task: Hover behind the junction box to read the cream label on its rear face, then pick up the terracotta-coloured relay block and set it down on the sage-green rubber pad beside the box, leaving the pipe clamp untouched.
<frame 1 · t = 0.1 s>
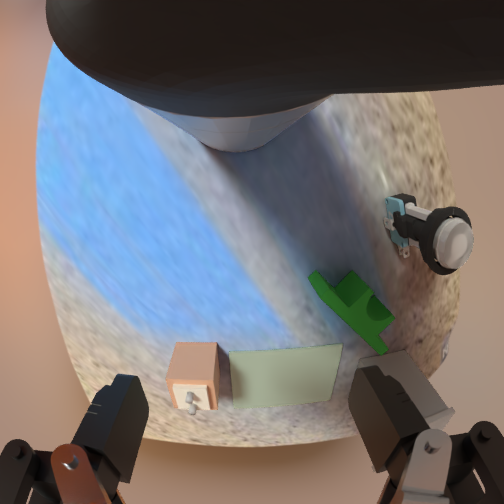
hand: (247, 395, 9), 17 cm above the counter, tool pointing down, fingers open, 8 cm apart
pipe clamp: (351, 297, 28), on the counter
junction box: (376, 376, 32), on the counter
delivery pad: (285, 379, 30), on the counter
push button: (394, 223, 25), on the counter
relay block: (198, 357, 29), on the counter
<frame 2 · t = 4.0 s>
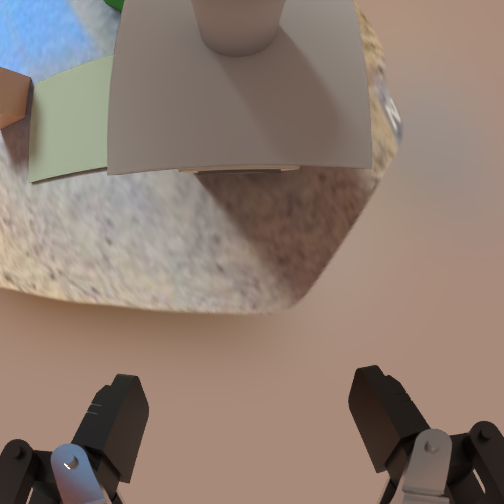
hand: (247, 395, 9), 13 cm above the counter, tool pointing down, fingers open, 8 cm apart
junction box: (238, 116, 18), on the counter
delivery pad: (82, 114, 17), on the counter
relay block: (14, 103, 16), on the counter
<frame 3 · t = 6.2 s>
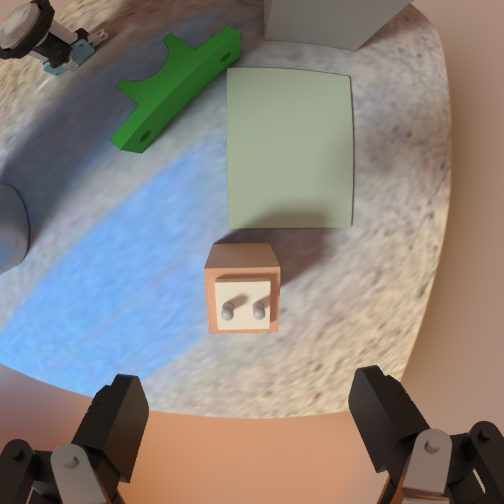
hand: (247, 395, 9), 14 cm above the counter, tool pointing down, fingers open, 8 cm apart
pipe clamp: (176, 89, 18), on the counter
junction box: (308, 14, 16), on the counter
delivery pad: (292, 145, 20), on the counter
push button: (81, 55, 16), on the counter
relay block: (241, 269, 22), on the counter
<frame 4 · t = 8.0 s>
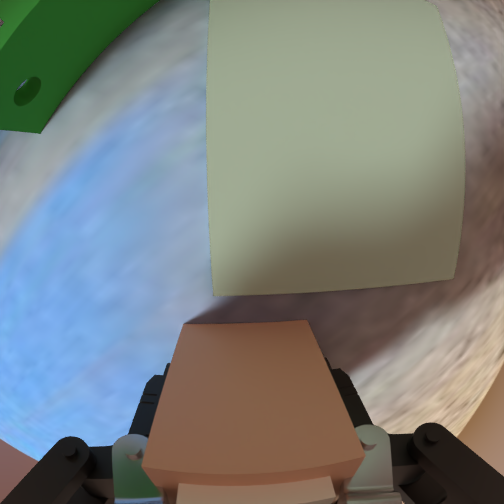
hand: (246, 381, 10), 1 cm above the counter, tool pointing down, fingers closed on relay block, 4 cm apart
pipe clamp: (116, 8, 6), on the counter, touching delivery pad
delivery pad: (359, 102, 8), on the counter
relay block: (246, 369, 10), on the counter, touching gripper
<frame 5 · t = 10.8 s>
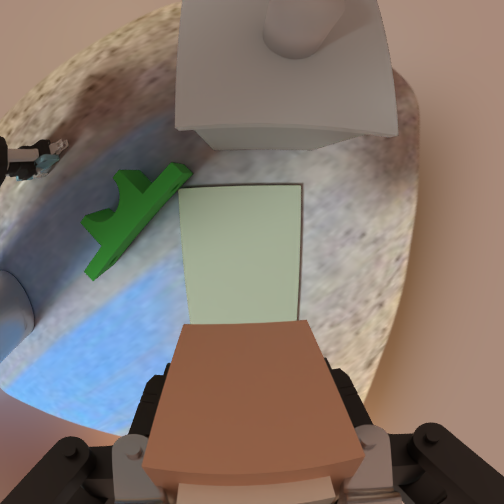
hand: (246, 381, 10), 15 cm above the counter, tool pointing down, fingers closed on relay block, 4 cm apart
pipe clamp: (137, 206, 22), on the counter
junction box: (262, 109, 20), on the counter
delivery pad: (241, 262, 24), on the counter
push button: (48, 159, 20), on the counter
relay block: (246, 370, 10), point 14 cm above the counter, touching gripper
when the fingers open (2 cm above the counter, at t = 13.4 s): relay block stays where it is, resting on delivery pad.
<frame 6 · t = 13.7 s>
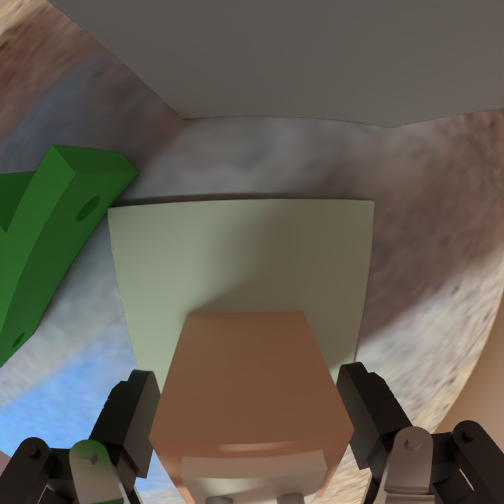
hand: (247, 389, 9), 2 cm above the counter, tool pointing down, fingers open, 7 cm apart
pipe clamp: (49, 240, 10), on the counter
junction box: (291, 37, 8), on the counter
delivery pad: (245, 353, 11), on the counter
relay block: (246, 358, 11), resting on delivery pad
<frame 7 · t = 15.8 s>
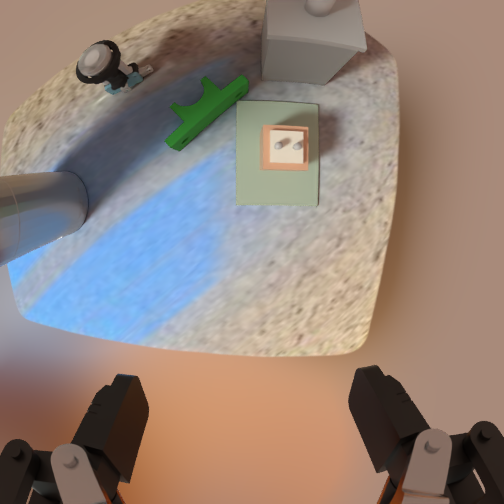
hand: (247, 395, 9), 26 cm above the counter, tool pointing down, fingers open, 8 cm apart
pipe clamp: (205, 111, 30), on the counter
junction box: (292, 59, 28), on the counter
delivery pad: (277, 152, 31), on the counter
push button: (131, 81, 28), on the counter
relay block: (278, 152, 31), resting on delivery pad
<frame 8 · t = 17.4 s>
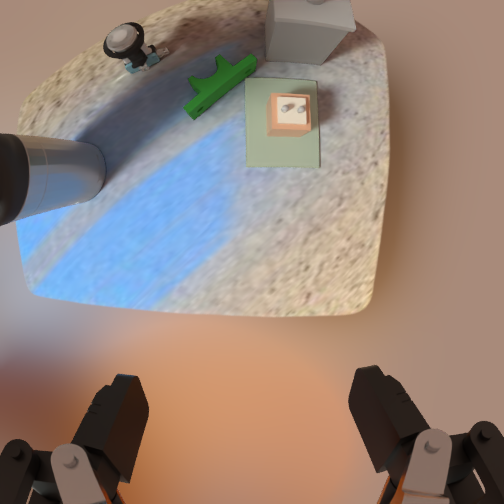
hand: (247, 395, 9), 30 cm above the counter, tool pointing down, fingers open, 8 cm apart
pipe clamp: (217, 86, 32), on the counter
junction box: (292, 43, 30), on the counter
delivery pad: (282, 121, 34), on the counter
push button: (149, 62, 30), on the counter
relay block: (282, 121, 34), resting on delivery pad
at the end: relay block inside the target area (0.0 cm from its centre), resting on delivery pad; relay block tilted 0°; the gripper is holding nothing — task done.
